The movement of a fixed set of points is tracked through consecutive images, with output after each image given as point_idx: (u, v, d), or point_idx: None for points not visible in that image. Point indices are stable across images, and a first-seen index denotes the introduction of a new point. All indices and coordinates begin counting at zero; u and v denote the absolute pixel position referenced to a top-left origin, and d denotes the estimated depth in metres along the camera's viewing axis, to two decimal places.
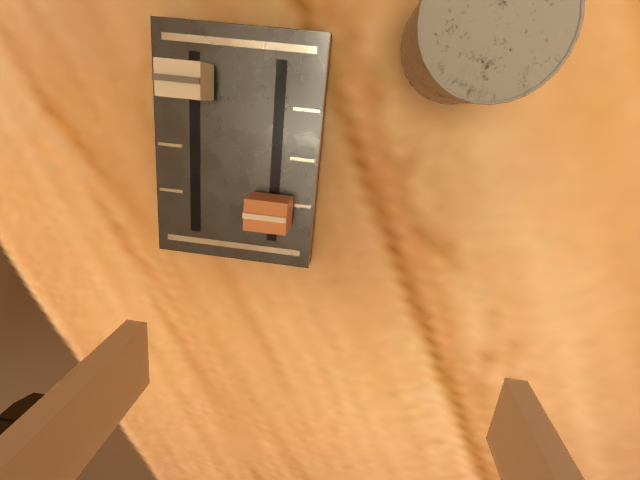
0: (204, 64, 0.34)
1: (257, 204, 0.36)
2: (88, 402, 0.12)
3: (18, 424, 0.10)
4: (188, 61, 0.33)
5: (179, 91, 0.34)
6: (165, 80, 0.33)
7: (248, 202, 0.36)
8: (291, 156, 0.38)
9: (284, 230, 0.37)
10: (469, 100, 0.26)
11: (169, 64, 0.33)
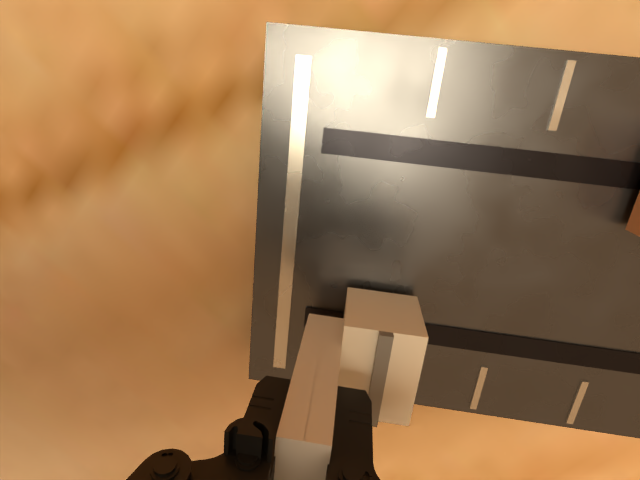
0: (349, 312, 0.15)
1: None
2: None
3: (290, 399, 0.12)
4: (343, 349, 0.15)
5: (405, 376, 0.15)
6: (381, 402, 0.15)
7: None
8: (549, 124, 0.15)
9: None
10: None
11: (348, 387, 0.15)
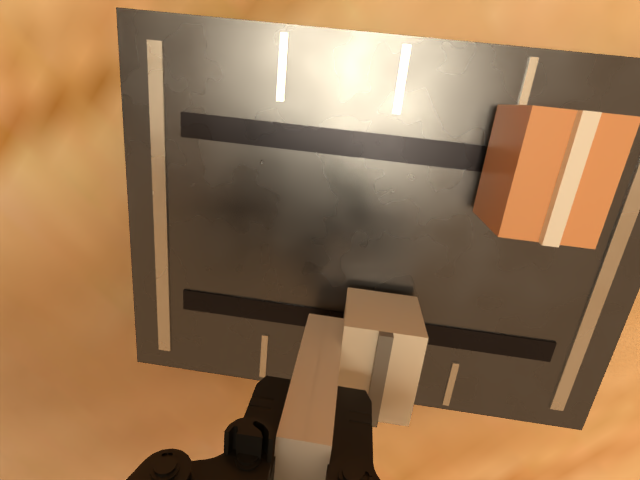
0: (349, 312, 0.15)
1: (520, 199, 0.12)
2: None
3: (290, 399, 0.12)
4: (343, 349, 0.15)
5: (405, 376, 0.15)
6: (380, 402, 0.15)
7: (511, 225, 0.13)
8: (392, 108, 0.15)
9: (622, 119, 0.11)
10: None
11: (348, 387, 0.15)
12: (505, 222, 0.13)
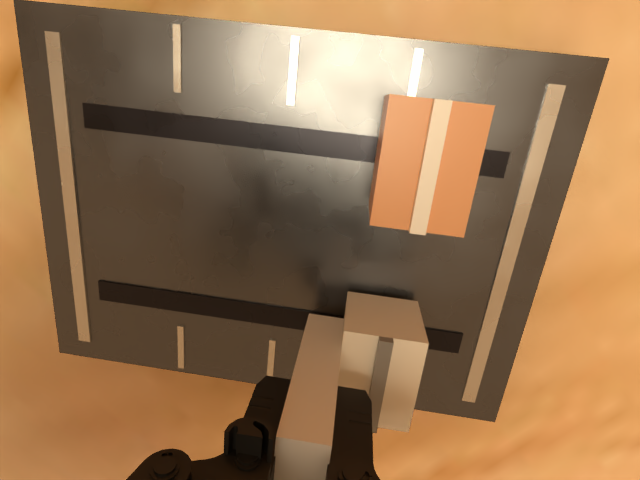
0: (349, 317, 0.15)
1: (387, 188, 0.13)
2: None
3: (290, 399, 0.12)
4: (342, 354, 0.15)
5: (405, 382, 0.15)
6: (380, 408, 0.15)
7: (380, 213, 0.13)
8: (286, 99, 0.15)
9: (476, 107, 0.12)
10: None
11: None
12: (375, 210, 0.13)
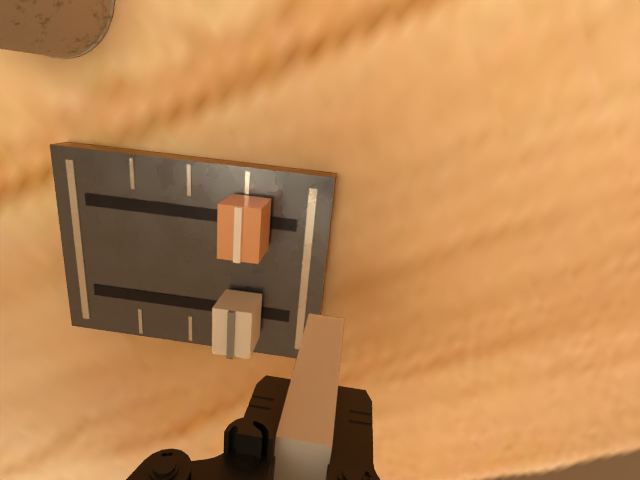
0: (218, 301, 0.31)
1: (222, 242, 0.28)
2: None
3: (290, 399, 0.12)
4: (213, 319, 0.30)
5: (244, 333, 0.30)
6: (233, 346, 0.31)
7: (221, 253, 0.28)
8: (187, 193, 0.31)
9: (253, 209, 0.27)
10: None
11: (218, 339, 0.31)
12: (218, 252, 0.28)
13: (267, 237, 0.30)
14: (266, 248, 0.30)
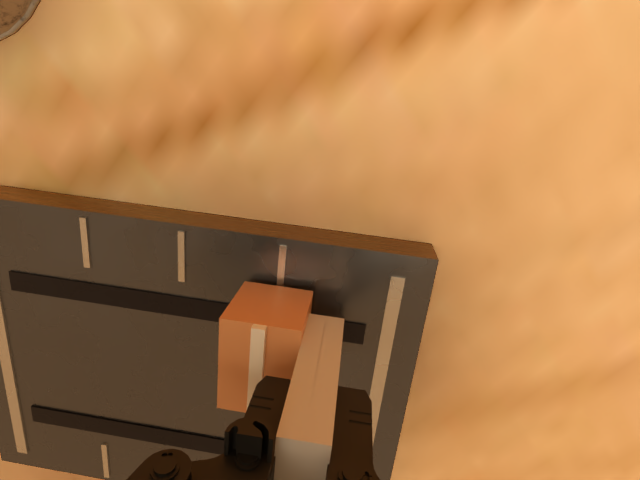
0: None
1: (227, 382, 0.15)
2: None
3: (290, 399, 0.12)
4: None
5: None
6: None
7: (224, 399, 0.16)
8: (178, 277, 0.18)
9: (287, 331, 0.14)
10: None
11: None
12: (220, 397, 0.16)
13: None
14: None
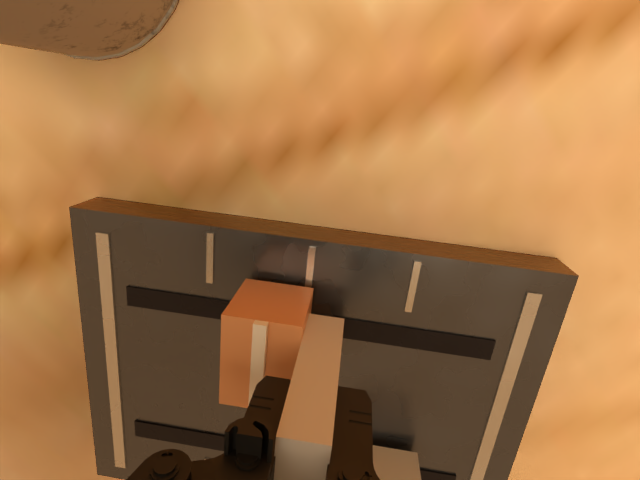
0: None
1: (229, 378, 0.15)
2: None
3: (290, 399, 0.12)
4: None
5: None
6: None
7: (226, 395, 0.16)
8: None
9: (289, 327, 0.14)
10: None
11: None
12: (222, 393, 0.16)
13: None
14: None
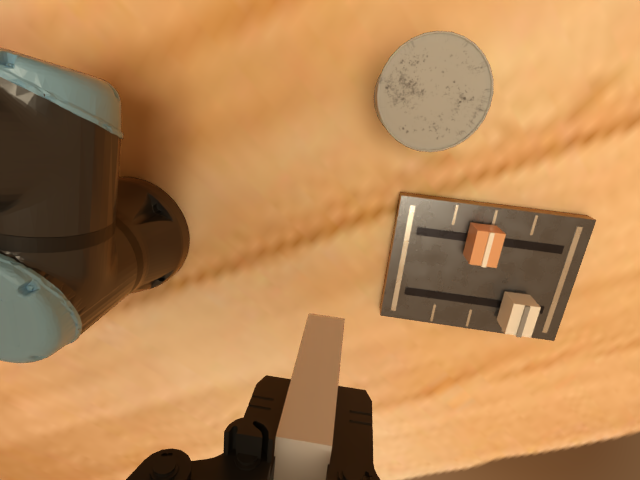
0: (512, 299, 0.47)
1: (475, 254, 0.45)
2: None
3: (290, 399, 0.12)
4: (512, 311, 0.46)
5: (531, 320, 0.46)
6: (523, 329, 0.47)
7: (472, 261, 0.45)
8: None
9: (500, 234, 0.44)
10: (487, 109, 0.34)
11: (512, 324, 0.47)
12: (471, 260, 0.45)
13: None
14: None
